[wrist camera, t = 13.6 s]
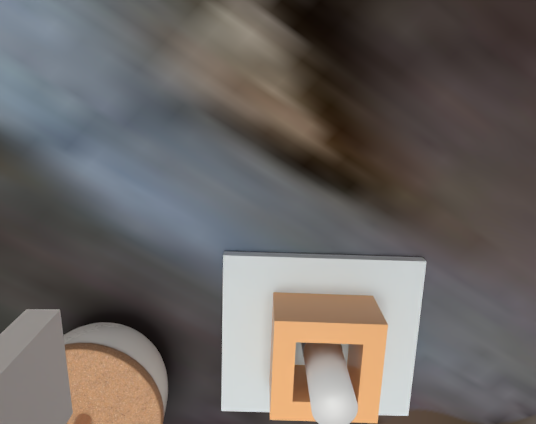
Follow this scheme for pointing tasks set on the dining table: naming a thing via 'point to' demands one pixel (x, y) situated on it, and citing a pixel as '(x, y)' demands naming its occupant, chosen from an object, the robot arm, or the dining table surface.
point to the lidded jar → (114, 376)
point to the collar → (325, 331)
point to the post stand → (317, 354)
